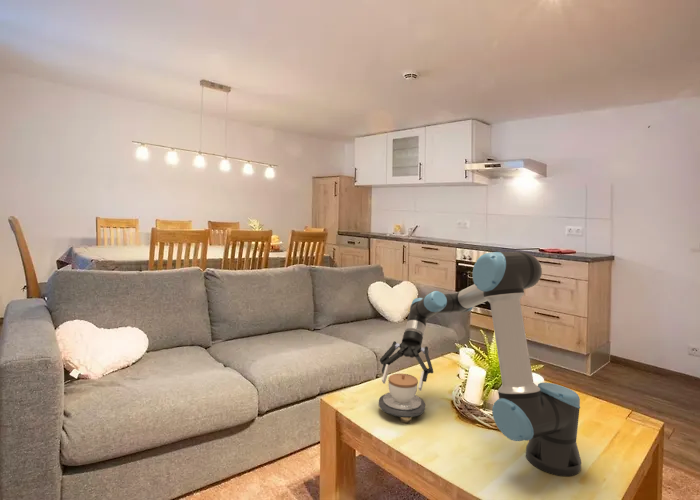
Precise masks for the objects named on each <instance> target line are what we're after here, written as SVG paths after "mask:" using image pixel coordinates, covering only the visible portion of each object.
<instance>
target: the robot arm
mask: <svg viewBox="0 0 700 500" xmlns="http://www.w3.org/2000/svg"><path fill="white" fill-rule="evenodd" d="M542 268H543V267H542V266H541V263H540V261H539V260H538V259H537V257H536V256H535V255H532V254H531V253H528V252H524V251H517V252H516V251H513V252H512V251H493V252H486V253H483V254H481V255H480V256H479V257H478V258H477V260H476V262H475V263H474V265H473V267H472V269H473V270H472V282H473V284H472V285H470V286H468V287H466V288H464V289H461V290H460V291H458V292H454V293H443V292H441V291H439V290H434V291H432V292H430V293H428V294H427V295H425V296H424V297H418V298H417V297H416V298H414V299H412V302H411V305H410V307H409V311H408V312H409V313H408V316H407V320H406V324H405V328H404V332H403V335H402V339H401V343H398V342H396V341H393V342H392V344H391V346H390V347H389V348H388V349H387V351H385V353H384V354H383V355H382V356H381V357H380V358H379V362H380V364H381V365H383V366H382V369H381V373H382V374H383V375H382V378H381V382H382V384H384V385H385V384H386V381H387V379H388V374H389V370H390V365H392V364H393V363H394V362H395V361H397V360H398V359H400V358H402V357H403V356H404V357H406V358H407V357H409V358H411V359H413V358H415V359H416V360H417V362H418V364H419V365H420V367H421V369H422V370H421V373H420V379H419V381H418V382H419V383H418V386H417V389H418V391H419V392H422V390H423V386H424V385H423V384H424V383H426V382H427V379H428V375H429V374H434V368H433V364H432V362H431V358H430V356H429V355H430V353H429V352H430V350H429V347H428V346H425V347H422V344H423V338H424V335H425V332H426V331H425V330H426V325H427V321H428V319H430V318H432V317H433V316H435V315H440V314H441V315H442V314H452V313H467V312H470V311H472V310H473V308H474V307H476V306H478V305H481V304H483V303H486V302H488V303H489V304H490V306H489V307H490V311H491V317H492V319H491V320H492V324H493V325H492V326H493V331H494V338H495V345H496V349H497V350H496V351H497V356H498V357H497V359H498V363H499V370H500V376H501V377H500V378H501V386H500V387H499V388H498V389H497V393H498V399H497V400H495V402H494V403H493V405H492V417H493V420H494V423H495V425H496V427H497V428H498V430H499V431H501V434H502V435H503V436H504V437H506V438H507V439H508V440H510V441H514V442H522V441H528V442H527V444H526V447H525V458H526V459H527V461H529V463H530V464H531V465H532V466H534V467H535V468H537V469H539V470H541V471H543V472H544V473H548V474H552V475H554V474H555V476H560V477H572V476H576V475H578V474H579V473H580V472H581V470H580V469H581V468H582V460H581V456H580V452H579V447H578V445H577V444H578V443H577V439H578V438H577V437H578V427H579V417H580V409H581V406H580V405H581V398H580V396H579V394H578V393H577V392H575V391H574V390H572V389H571V388H569V387H566V386H562V385H560V384H557V383H552V382H540V383H538V384H535V382H534V378H533V377H534V376H533V372H532V371H533V370H532V366H531V365H532V364H531V359H530V354H529V347H528V341H527V335H526V329H525V323H524V316H523V311H522V305H521V299H522V298H523V296H524V295H525V290H527V289H530V288H532V287H534V286H536V285H537V284H538V283H539V281H540V280H541V277H542V273H543V269H542ZM398 348H399V349H398ZM396 350H397V351H396ZM421 352H422V354H423V355H424V356H425V360H426V363H427V366H428V367H427V366H426V364H425V363H424V361H423V359H422V358H421V357H420V353H421Z"/></svg>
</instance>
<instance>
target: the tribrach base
mask: <svg viewBox="0 0 700 500" xmlns="http://www.w3.org/2000/svg"><path fill="white" fill-rule="evenodd" d="M378 407H379V409H380V410H381V411H382V412H384V413H385V414H388V415H390V416H393V417H394V416H395V417H399V421H400V422H401V423H403V424H411V423H412V418H414V417H419V416H421V415H422V414H423V413H424V412H425V411H426V402H425V400H424V399H423V398H421V397H420V396H418V395H417V394H415V396H414V397H413V399H411V400H410V402H408V403H400V402H397V401H395V400H394V398H393V397H392V396H391V394H390V392H387V393H384V394H382V395H381V396H380V397H379V399H378Z"/></svg>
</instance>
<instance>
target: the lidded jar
mask: <svg viewBox="0 0 700 500" xmlns="http://www.w3.org/2000/svg"><path fill="white" fill-rule="evenodd" d="M387 379H388V391H389V392H390V394H391V396H392V397H393V398H394V400H395V401H397V402H400V403H408V402H410V400H411V399H413V397H414V396H415V395H417V390H418V385H419V383H418V382H419V380H418V378H417V377H415V375H412V374H407V373H393V374H391V375H389V376H388V377H387ZM389 392H388V393H389Z"/></svg>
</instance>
